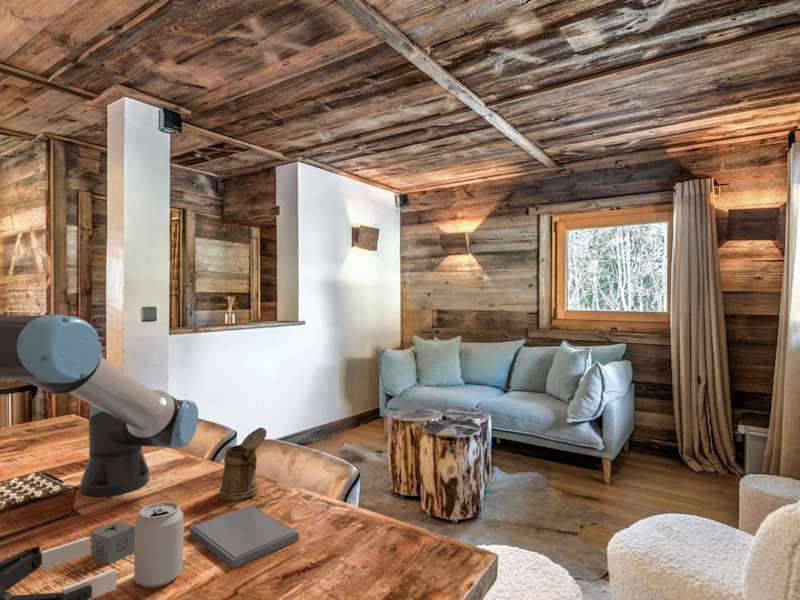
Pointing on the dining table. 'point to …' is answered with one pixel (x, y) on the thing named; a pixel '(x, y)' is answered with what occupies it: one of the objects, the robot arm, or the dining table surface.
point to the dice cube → (112, 542)
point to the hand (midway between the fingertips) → (101, 560)
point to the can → (158, 544)
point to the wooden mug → (241, 468)
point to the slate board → (243, 535)
